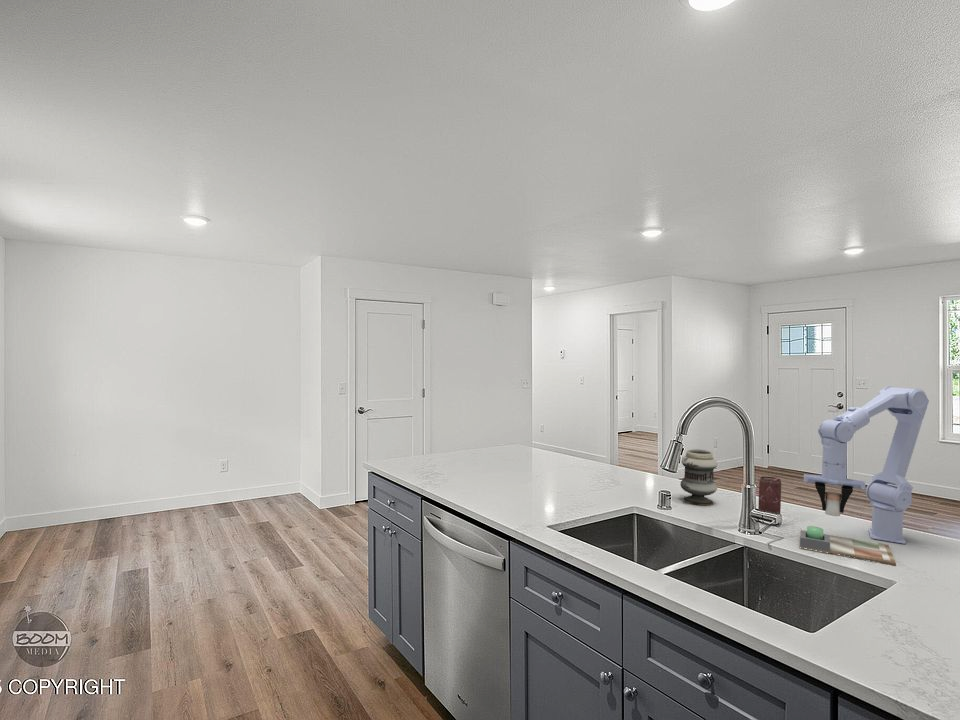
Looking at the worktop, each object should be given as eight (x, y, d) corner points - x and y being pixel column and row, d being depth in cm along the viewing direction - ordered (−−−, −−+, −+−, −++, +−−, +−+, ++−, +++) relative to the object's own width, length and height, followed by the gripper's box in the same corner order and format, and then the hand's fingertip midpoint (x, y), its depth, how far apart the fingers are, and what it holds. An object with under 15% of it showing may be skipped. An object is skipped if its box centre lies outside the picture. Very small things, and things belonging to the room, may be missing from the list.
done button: (806, 536, 152) (807, 525, 152) (822, 538, 150) (823, 527, 150) (806, 539, 149) (807, 529, 149) (823, 542, 147) (823, 531, 147)
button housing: (800, 539, 154) (800, 530, 154) (828, 543, 150) (829, 535, 150) (800, 546, 148) (800, 537, 148) (829, 551, 145) (830, 542, 145)
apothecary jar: (678, 503, 190) (679, 452, 189) (681, 495, 201) (683, 446, 200) (716, 508, 185) (717, 455, 184) (717, 499, 195) (718, 450, 195)
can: (785, 525, 168) (786, 480, 168) (766, 526, 167) (768, 480, 167) (771, 519, 174) (773, 475, 174) (753, 519, 173) (755, 476, 173)
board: (800, 532, 162) (800, 529, 162) (888, 546, 151) (888, 543, 151) (799, 548, 148) (799, 545, 148) (895, 565, 137) (896, 562, 137)
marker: (824, 511, 156) (825, 490, 156) (840, 513, 154) (840, 492, 154) (825, 514, 153) (825, 493, 153) (840, 517, 151) (841, 495, 151)
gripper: (804, 461, 154) (802, 509, 154) (866, 468, 146) (865, 518, 146) (804, 457, 160) (803, 503, 160) (864, 464, 152) (863, 512, 152)
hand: (832, 510), depth 154 cm, fingers closed on marker, 4 cm apart
